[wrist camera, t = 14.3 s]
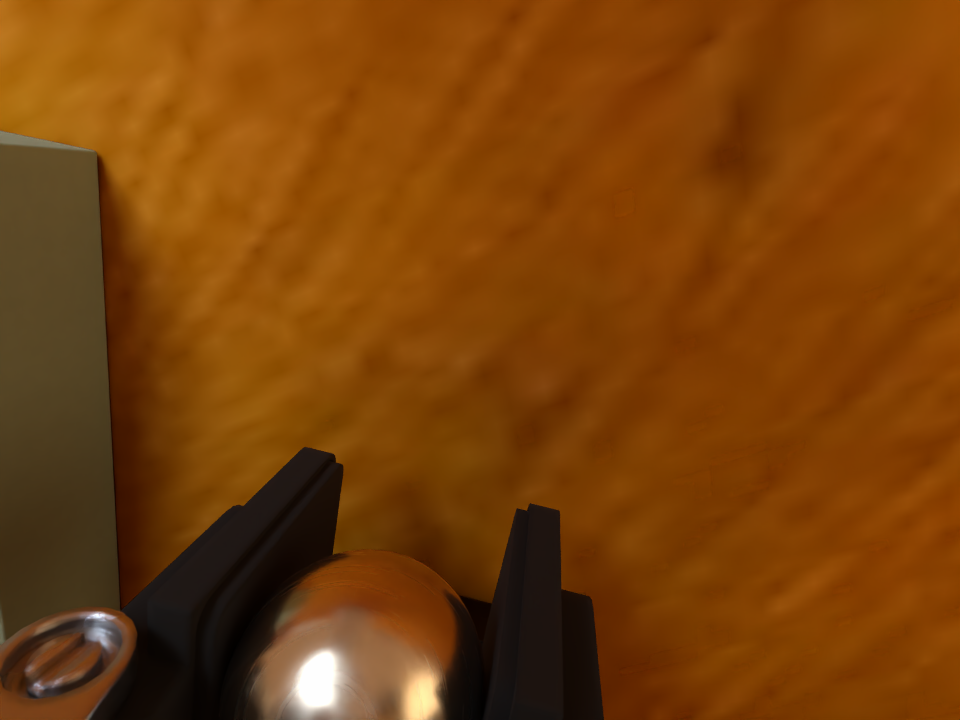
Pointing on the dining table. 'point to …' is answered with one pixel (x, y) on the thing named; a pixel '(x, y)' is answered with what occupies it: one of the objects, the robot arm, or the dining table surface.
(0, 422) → the plate
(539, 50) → the dining table surface
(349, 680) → the ball knob lever
